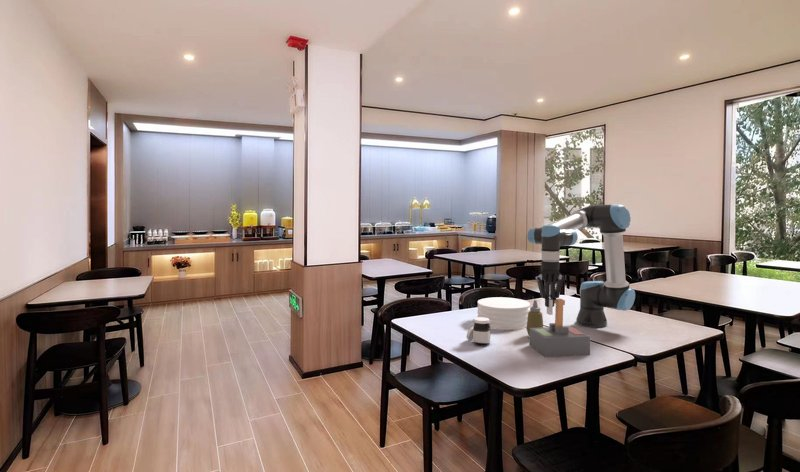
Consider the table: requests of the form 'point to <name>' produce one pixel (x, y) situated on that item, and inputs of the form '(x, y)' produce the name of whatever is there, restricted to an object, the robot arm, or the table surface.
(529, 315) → the squeeze bottle
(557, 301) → the breaker lever
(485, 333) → the spread jar
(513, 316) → the plate stack
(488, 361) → the table surface
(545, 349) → the switch block
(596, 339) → the table surface
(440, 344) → the table surface
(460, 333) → the table surface
